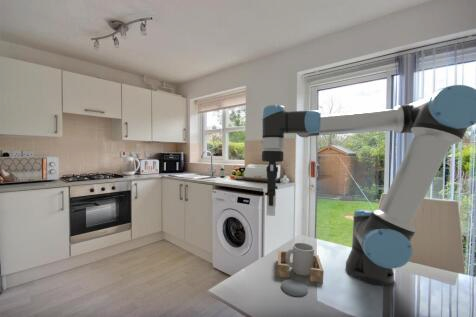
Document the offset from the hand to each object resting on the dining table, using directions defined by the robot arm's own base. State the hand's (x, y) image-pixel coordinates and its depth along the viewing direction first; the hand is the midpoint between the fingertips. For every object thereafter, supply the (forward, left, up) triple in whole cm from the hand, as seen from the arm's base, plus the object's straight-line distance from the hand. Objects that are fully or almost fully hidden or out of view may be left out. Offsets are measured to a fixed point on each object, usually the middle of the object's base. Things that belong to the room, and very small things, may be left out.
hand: (271, 210), depth 81 cm
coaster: (-9, +8, -22) cm, 25 cm away
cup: (-11, -4, -22) cm, 25 cm away
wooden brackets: (-11, -4, -22) cm, 25 cm away
